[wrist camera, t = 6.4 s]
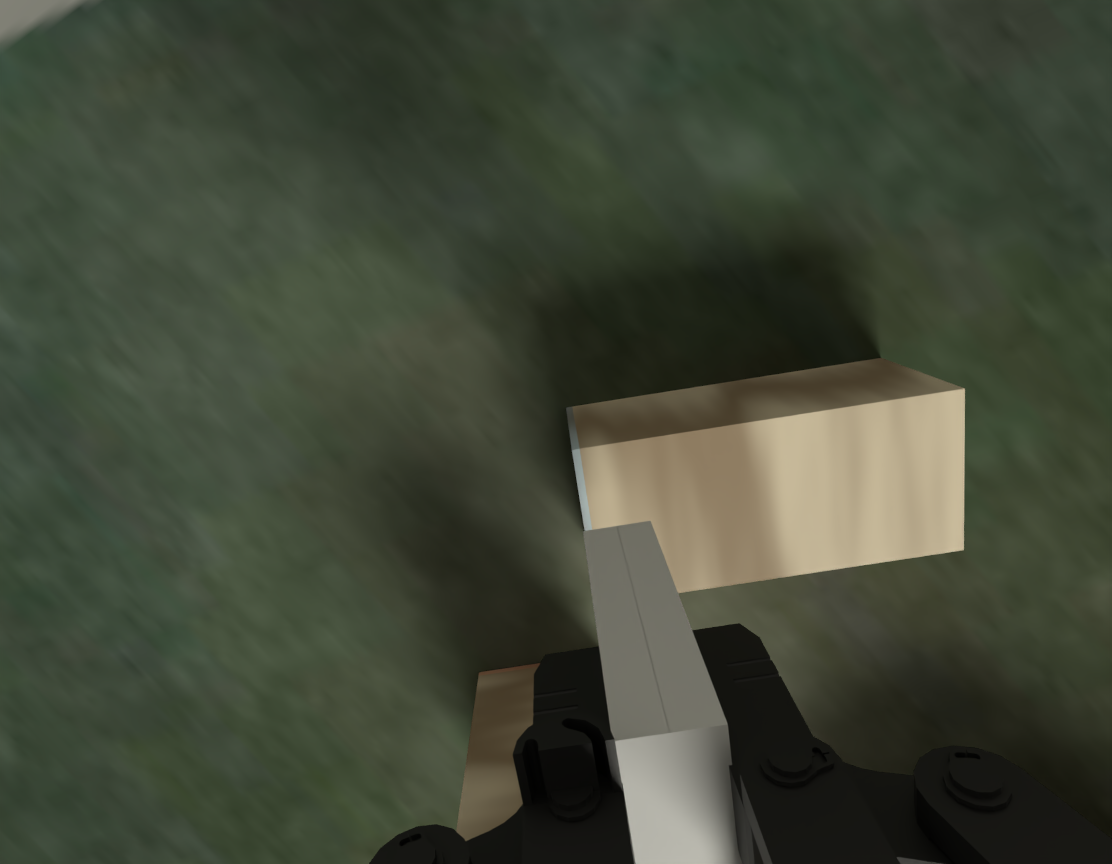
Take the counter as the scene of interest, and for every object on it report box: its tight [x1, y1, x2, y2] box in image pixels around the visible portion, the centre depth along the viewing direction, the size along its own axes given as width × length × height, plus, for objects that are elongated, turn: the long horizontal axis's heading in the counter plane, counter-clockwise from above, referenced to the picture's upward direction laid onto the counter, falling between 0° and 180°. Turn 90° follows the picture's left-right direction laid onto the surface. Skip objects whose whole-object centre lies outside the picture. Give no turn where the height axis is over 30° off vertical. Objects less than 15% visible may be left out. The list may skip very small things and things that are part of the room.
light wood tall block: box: [456, 663, 540, 841], centre depth 20 cm, size 4×4×10 cm
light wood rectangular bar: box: [566, 358, 965, 593], centre depth 20 cm, size 4×4×10 cm
